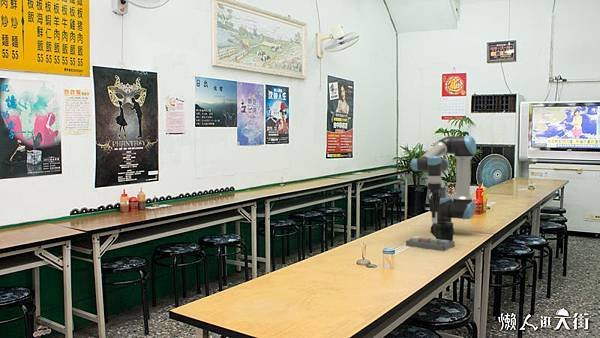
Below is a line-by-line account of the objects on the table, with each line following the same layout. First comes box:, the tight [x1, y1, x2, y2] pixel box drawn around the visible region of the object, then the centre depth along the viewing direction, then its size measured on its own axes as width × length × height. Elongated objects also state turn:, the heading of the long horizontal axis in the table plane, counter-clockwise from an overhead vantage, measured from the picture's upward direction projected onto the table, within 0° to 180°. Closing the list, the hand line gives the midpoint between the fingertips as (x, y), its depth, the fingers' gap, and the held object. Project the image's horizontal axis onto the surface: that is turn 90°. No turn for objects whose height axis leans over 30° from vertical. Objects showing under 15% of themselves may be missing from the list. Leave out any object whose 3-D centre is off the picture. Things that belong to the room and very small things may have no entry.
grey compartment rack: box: [405, 236, 455, 252], centre depth 307 cm, size 14×24×4 cm, turn 50°
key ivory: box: [411, 235, 423, 241], centre depth 312 cm, size 4×4×2 cm
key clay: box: [420, 236, 432, 243], centre depth 309 cm, size 4×4×2 cm
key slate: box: [439, 240, 449, 245], centre depth 301 cm, size 4×4×2 cm
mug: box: [430, 221, 455, 241], centre depth 321 cm, size 11×15×12 cm
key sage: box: [430, 238, 440, 244], centre depth 305 cm, size 4×4×2 cm
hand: (434, 222), depth 304 cm, fingers closed
